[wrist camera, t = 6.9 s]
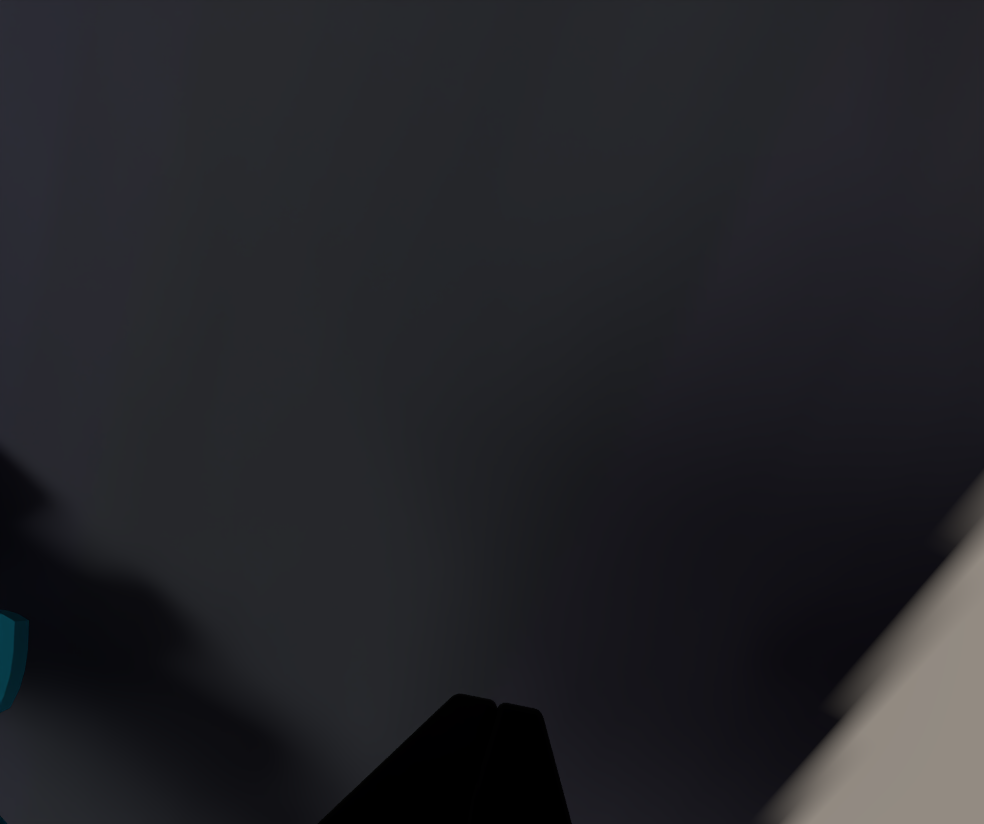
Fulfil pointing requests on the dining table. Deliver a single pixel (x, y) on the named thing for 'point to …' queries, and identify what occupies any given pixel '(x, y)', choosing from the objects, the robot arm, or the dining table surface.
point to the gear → (12, 657)
